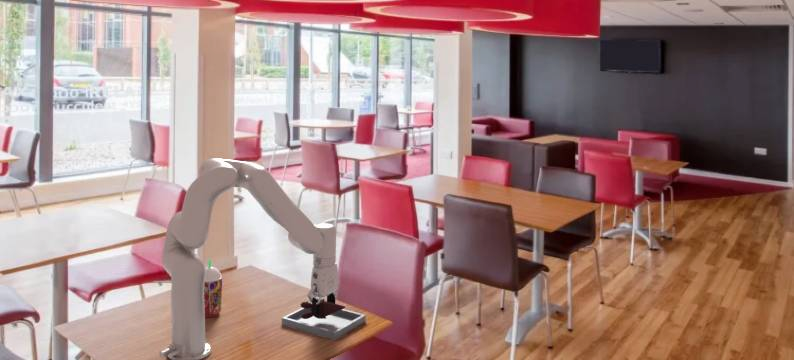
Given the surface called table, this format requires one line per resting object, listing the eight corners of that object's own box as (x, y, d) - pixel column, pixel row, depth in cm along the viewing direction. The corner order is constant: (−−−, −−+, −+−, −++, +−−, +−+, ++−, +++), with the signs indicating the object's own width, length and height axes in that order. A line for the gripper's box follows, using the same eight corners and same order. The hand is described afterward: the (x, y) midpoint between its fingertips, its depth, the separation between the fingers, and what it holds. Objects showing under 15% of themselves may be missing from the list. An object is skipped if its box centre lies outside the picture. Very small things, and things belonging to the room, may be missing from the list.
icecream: (344, 295, 226) (301, 299, 225) (344, 297, 219) (299, 301, 218) (346, 315, 226) (302, 319, 225) (345, 318, 218) (300, 322, 217)
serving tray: (334, 340, 210) (335, 332, 209) (281, 324, 221) (281, 317, 220) (365, 321, 225) (365, 314, 225) (314, 308, 236) (314, 301, 235)
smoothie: (224, 317, 225) (223, 261, 222) (199, 320, 222) (197, 264, 219) (221, 308, 233) (220, 254, 229) (197, 311, 230) (195, 256, 226)
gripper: (317, 269, 209) (316, 321, 213) (348, 256, 224) (347, 305, 227) (299, 265, 213) (298, 316, 216) (330, 252, 228) (330, 300, 231)
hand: (323, 310), depth 222 cm, fingers closed on icecream, 7 cm apart
